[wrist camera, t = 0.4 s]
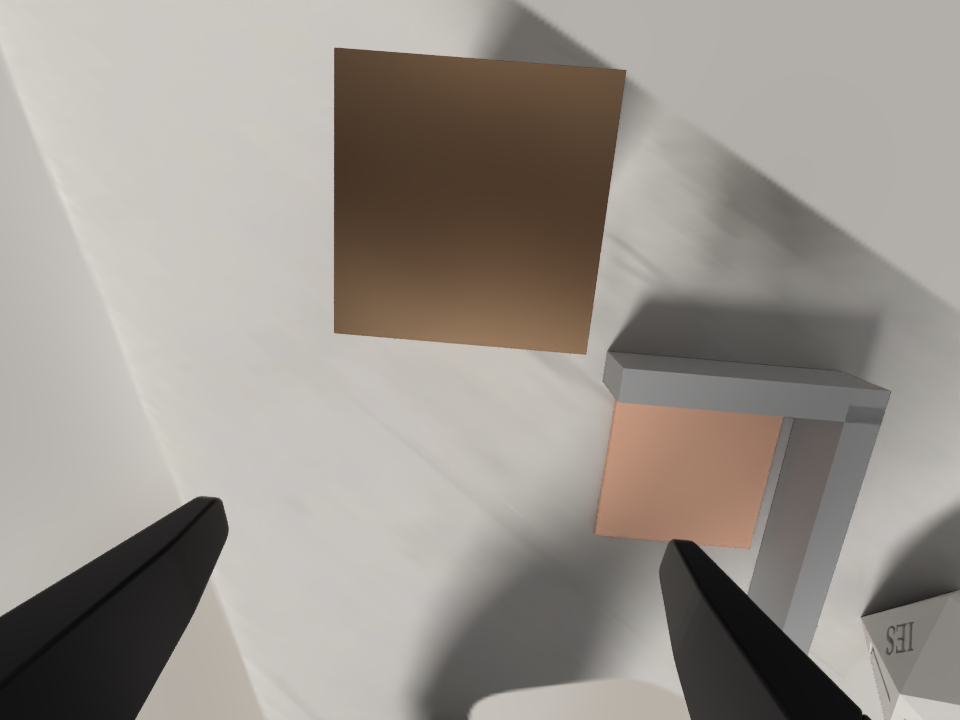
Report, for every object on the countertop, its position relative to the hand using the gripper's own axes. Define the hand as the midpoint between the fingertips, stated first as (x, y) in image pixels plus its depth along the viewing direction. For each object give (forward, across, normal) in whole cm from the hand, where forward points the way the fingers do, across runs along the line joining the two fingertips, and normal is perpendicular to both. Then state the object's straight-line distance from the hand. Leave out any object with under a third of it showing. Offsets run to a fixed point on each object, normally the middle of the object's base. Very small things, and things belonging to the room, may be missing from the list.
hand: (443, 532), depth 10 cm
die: (+11, -25, +16) cm, 31 cm away
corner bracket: (+12, -12, +9) cm, 19 cm away
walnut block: (+15, 0, -3) cm, 15 cm away
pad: (+12, -11, +8) cm, 18 cm away
